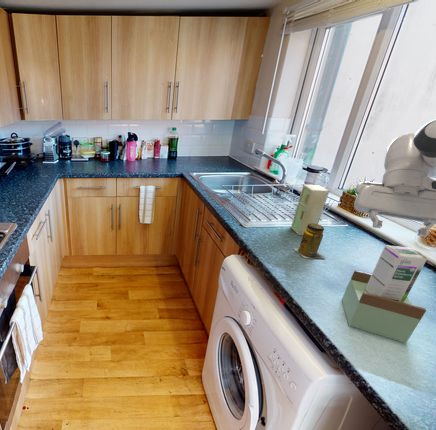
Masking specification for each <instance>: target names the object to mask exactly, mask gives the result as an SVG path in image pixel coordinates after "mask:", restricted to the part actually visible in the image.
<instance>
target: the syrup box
mask: <svg viewBox="0 0 436 430" xmlns="http://www.w3.org/2000/svg"><path fill="white" fill-rule="evenodd" d="M427 261H428V258H427V257H426V256H425V255H423V253H421V252H420V251H418V250H416V249H414V248H412V247H411V246H397V245H389V244H386V245H384V247H383V249H382V251H381V254H380V256H379V258H378V259H377V263H376V264H375V267H374V269H373V271H372V273H371V274H372V275H371V277H370V280H369V282H368V284H367V286H366V290H367V291H368V293H369V294H373V295H377V296H380V297H384V298H388V299H392V300H395V301H399V302H403V303H404V301H405V299H406V297H408V295H409V294H410V292H411V290H412V288H413V286H414V284H415V282H416V281H417V279H418V277H419V275H420V273H421V272H422V269H423V268H424V265H425V264H426V262H427Z"/></svg>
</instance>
